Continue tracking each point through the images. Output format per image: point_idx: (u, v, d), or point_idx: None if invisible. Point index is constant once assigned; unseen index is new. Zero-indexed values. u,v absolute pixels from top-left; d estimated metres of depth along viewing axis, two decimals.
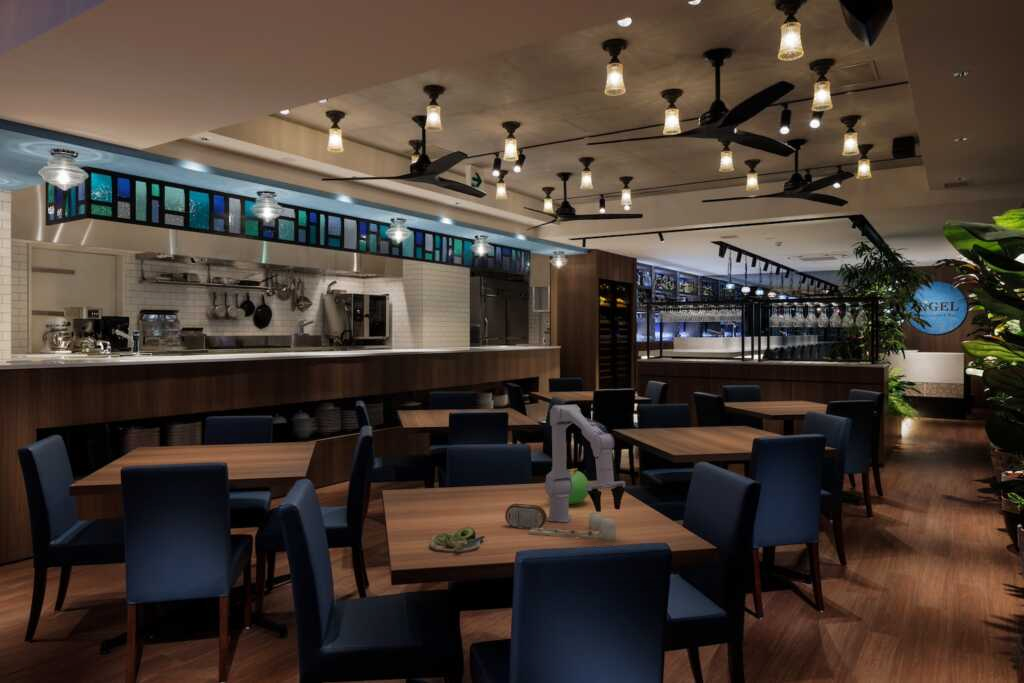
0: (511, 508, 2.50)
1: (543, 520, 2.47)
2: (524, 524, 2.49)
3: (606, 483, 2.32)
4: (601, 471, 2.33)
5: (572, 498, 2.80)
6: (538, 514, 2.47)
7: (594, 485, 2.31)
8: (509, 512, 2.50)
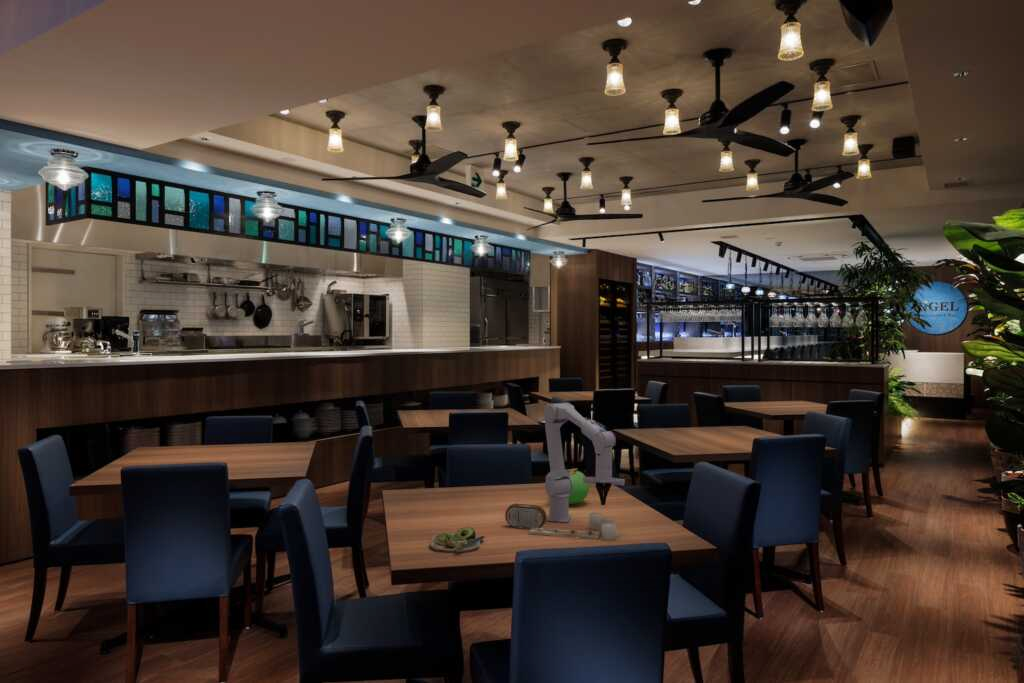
0: (511, 508, 2.50)
1: (543, 520, 2.47)
2: (524, 524, 2.49)
3: (598, 479, 2.41)
4: (596, 467, 2.42)
5: (572, 498, 2.80)
6: (538, 514, 2.47)
7: (588, 479, 2.43)
8: (509, 512, 2.50)
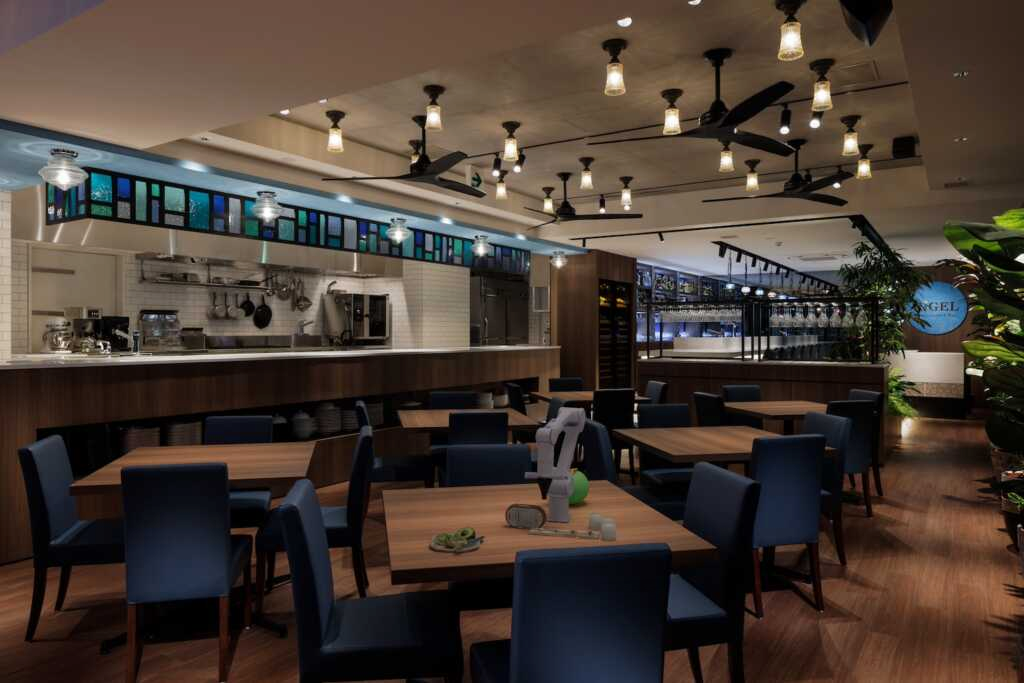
0: (511, 508, 2.50)
1: (543, 520, 2.47)
2: (524, 524, 2.49)
3: (540, 474, 2.47)
4: (538, 462, 2.49)
5: (572, 498, 2.80)
6: (538, 514, 2.47)
7: (529, 474, 2.49)
8: (509, 512, 2.50)
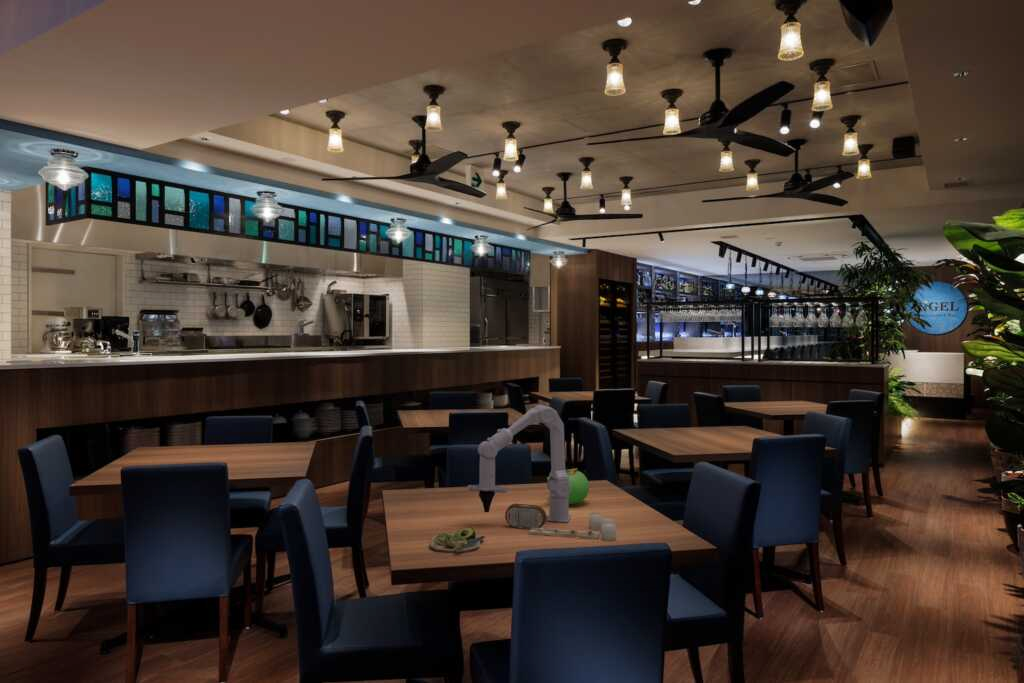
0: (511, 508, 2.50)
1: (543, 520, 2.47)
2: (524, 524, 2.49)
3: (481, 487, 2.50)
4: None
5: (572, 498, 2.80)
6: (538, 514, 2.47)
7: (472, 487, 2.53)
8: (509, 512, 2.50)
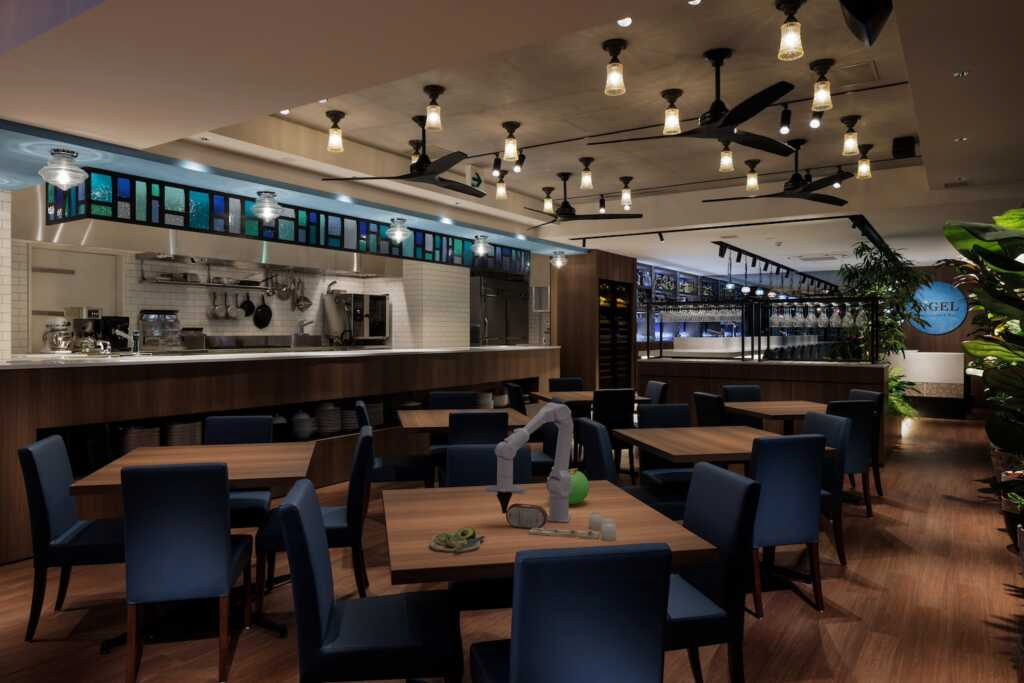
0: (512, 508, 2.50)
1: (544, 520, 2.47)
2: (525, 524, 2.49)
3: (499, 488, 2.49)
4: (497, 476, 2.50)
5: (572, 498, 2.80)
6: (539, 514, 2.47)
7: (489, 488, 2.51)
8: (509, 512, 2.50)
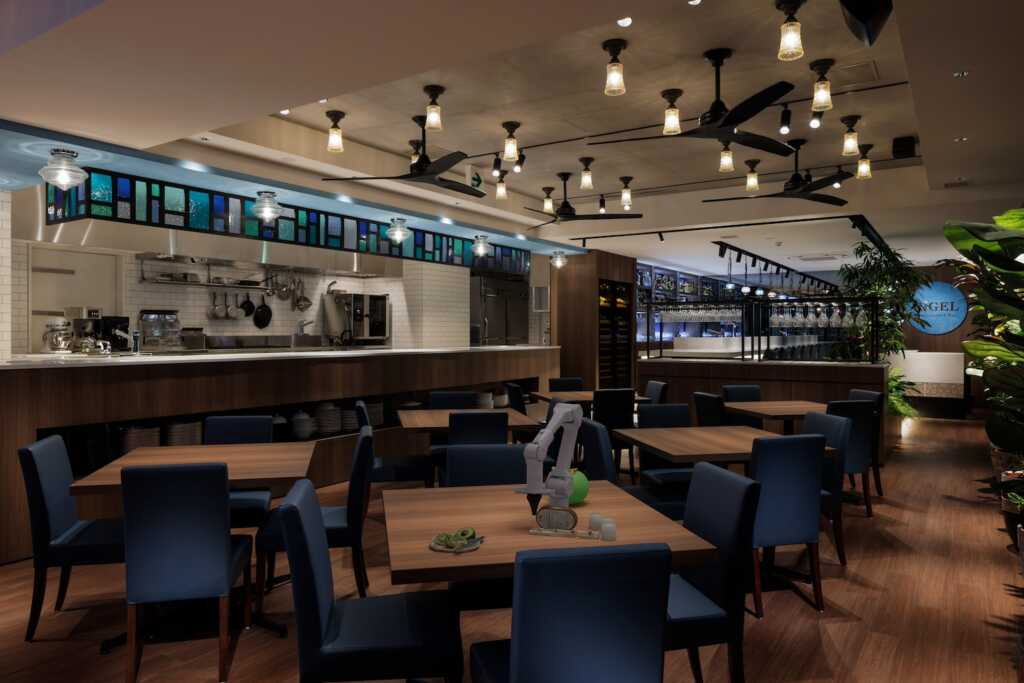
0: (542, 510, 2.47)
1: (574, 522, 2.44)
2: (555, 526, 2.46)
3: (529, 490, 2.47)
4: (527, 478, 2.48)
5: (572, 498, 2.80)
6: (570, 516, 2.44)
7: (519, 490, 2.49)
8: (540, 514, 2.48)
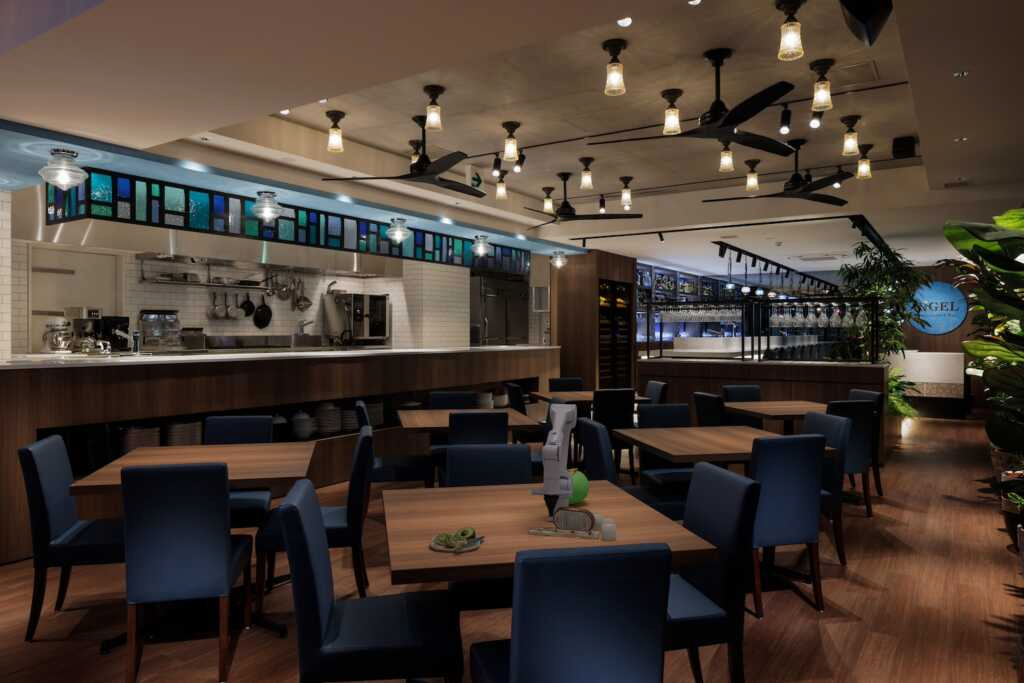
0: (559, 511, 2.46)
1: (591, 524, 2.42)
2: (572, 528, 2.44)
3: (546, 491, 2.45)
4: (544, 479, 2.46)
5: (572, 498, 2.80)
6: (587, 518, 2.42)
7: (536, 491, 2.47)
8: (557, 515, 2.46)
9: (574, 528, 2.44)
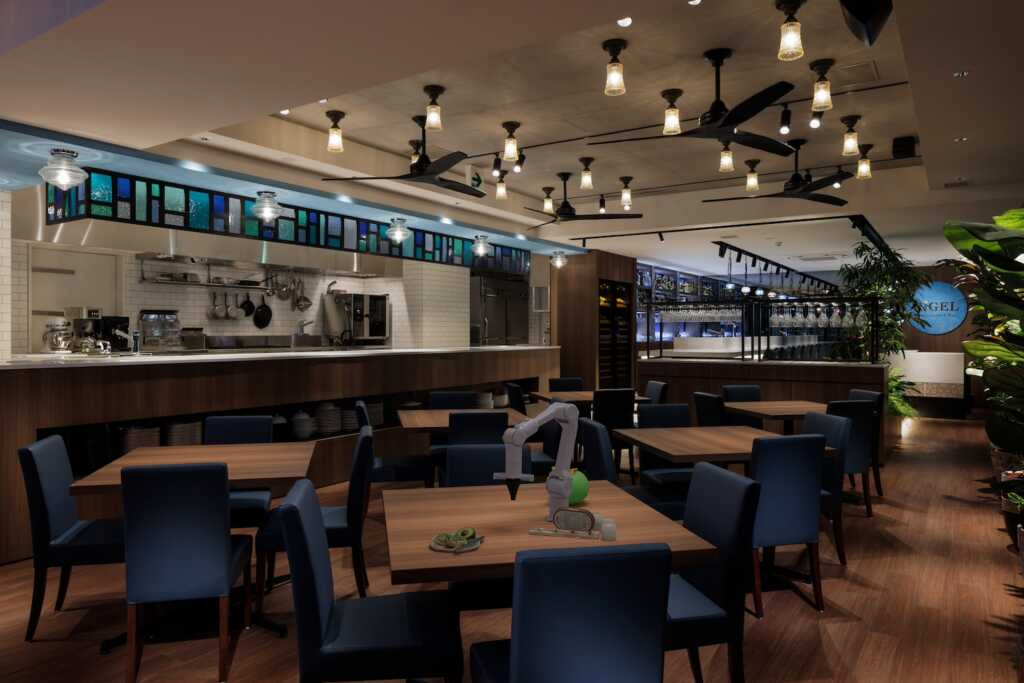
0: (559, 511, 2.46)
1: (592, 524, 2.42)
2: (572, 528, 2.44)
3: (508, 475, 2.46)
4: (506, 463, 2.47)
5: (572, 498, 2.80)
6: (587, 518, 2.42)
7: (498, 475, 2.48)
8: (557, 516, 2.46)
9: (574, 528, 2.44)
